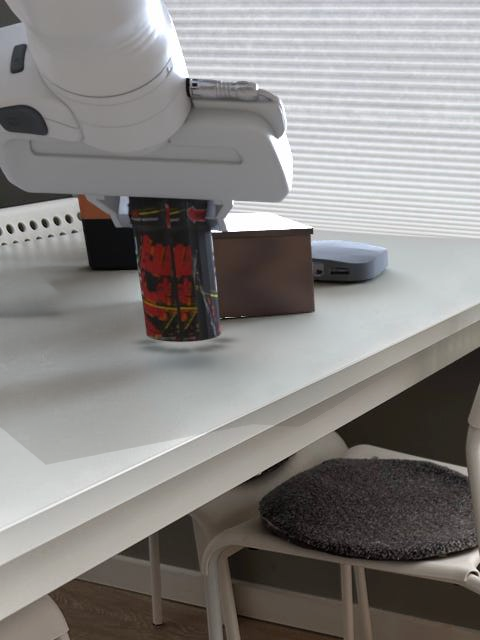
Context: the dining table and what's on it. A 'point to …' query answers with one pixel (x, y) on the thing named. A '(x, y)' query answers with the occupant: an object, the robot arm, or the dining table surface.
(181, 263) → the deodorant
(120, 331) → the dining table surface
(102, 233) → the battery
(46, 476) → the dining table surface
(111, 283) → the dining table surface
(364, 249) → the media streaming box
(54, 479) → the dining table surface
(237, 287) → the walnut box
